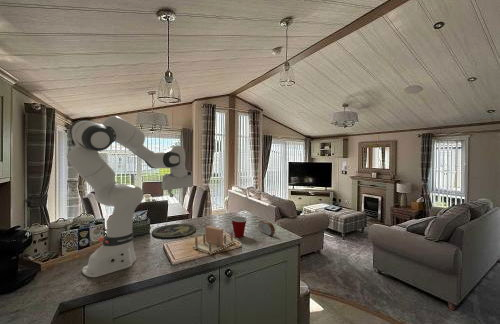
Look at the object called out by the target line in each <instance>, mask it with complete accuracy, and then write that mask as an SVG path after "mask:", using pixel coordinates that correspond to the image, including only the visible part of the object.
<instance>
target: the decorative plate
mask: <svg viewBox="0 0 500 324" xmlns="http://www.w3.org/2000/svg"><path fill="white" fill-rule="evenodd" d="M196 232H197V227H196V225H195V226H194V225H193V224H189V223H173V224H166V225H161V226H159V227H155V228H154V229H153V230H152V231H151V236H152V237H153V238H154V239H159V240H174V239H175V240H177V239H182V238H186V237H189V236H191V235H193V234H195V233H196Z"/></svg>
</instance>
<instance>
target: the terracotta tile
mask: <svg viewBox="0 0 500 324" xmlns="http://www.w3.org/2000/svg"><path fill="white" fill-rule="evenodd" d="M217 238H219V246H222V245H223V238H224V229H223V228H220V227H215V226H211V225H206V226H205V241H206V242H208V243H209V241H211V243H212V244H215V245H217Z"/></svg>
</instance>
